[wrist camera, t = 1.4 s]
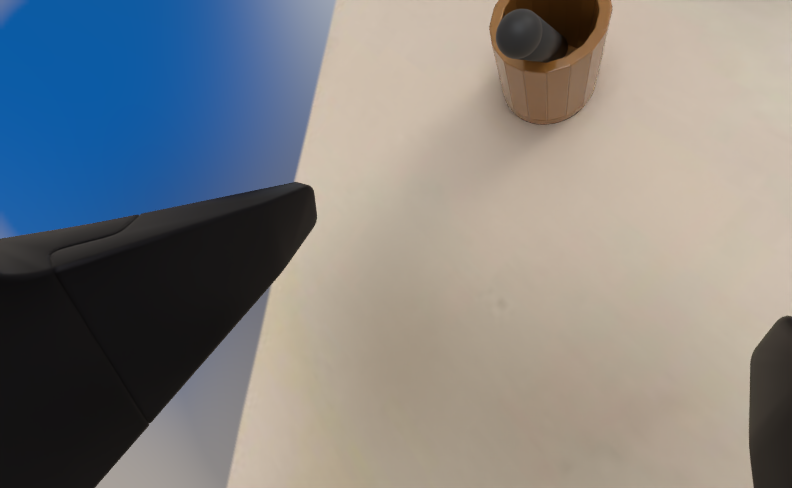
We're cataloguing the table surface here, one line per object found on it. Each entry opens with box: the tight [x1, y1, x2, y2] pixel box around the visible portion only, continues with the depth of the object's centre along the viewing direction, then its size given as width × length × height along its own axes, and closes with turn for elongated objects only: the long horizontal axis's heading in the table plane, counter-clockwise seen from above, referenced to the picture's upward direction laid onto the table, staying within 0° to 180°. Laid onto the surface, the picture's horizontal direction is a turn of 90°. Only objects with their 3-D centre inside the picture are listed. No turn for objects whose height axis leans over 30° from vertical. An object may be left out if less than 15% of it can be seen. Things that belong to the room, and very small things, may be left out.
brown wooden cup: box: [489, 0, 612, 124], centre depth 19 cm, size 4×4×6 cm
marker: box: [496, 9, 568, 63], centre depth 16 cm, size 6×1×10 cm, turn 165°
